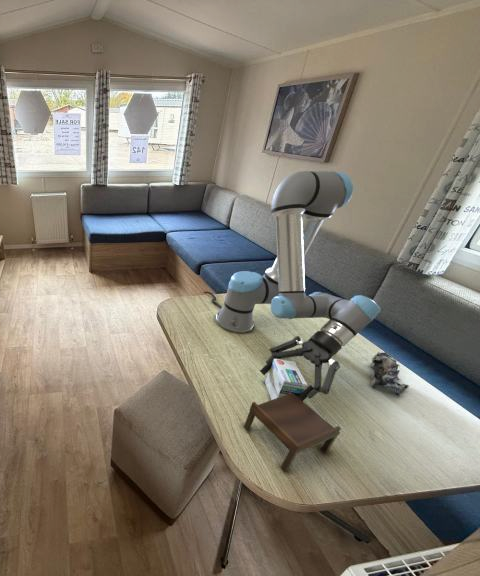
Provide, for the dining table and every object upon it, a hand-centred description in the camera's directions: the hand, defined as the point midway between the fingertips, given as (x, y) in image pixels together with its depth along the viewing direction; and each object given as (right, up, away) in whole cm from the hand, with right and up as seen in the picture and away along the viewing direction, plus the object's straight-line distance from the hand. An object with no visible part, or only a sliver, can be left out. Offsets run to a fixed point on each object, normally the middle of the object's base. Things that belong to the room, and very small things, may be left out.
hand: (278, 387), depth 96 cm
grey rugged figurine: (+42, -1, +10) cm, 43 cm away
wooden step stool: (-5, -11, -11) cm, 16 cm away
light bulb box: (+2, -4, +3) cm, 6 cm away
